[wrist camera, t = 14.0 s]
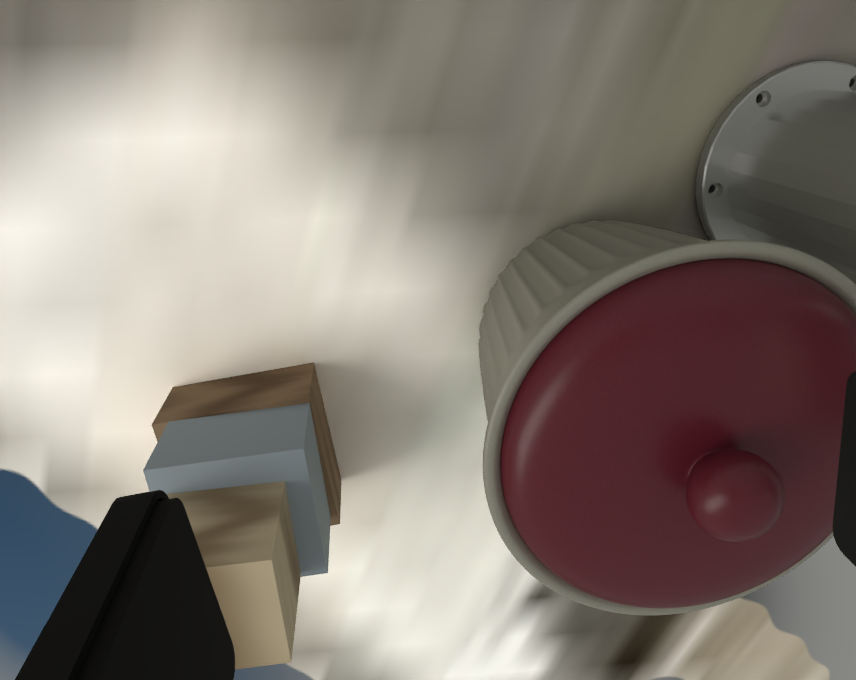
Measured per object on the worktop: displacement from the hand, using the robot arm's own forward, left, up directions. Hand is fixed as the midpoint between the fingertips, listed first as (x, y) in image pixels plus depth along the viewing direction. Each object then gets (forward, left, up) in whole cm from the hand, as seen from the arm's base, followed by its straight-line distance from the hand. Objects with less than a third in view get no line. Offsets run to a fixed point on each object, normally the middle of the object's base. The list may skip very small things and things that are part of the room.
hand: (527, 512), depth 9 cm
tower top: (+12, +15, -28) cm, 33 cm away
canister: (-10, +11, -32) cm, 36 cm away
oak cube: (+12, +16, -22) cm, 30 cm away
